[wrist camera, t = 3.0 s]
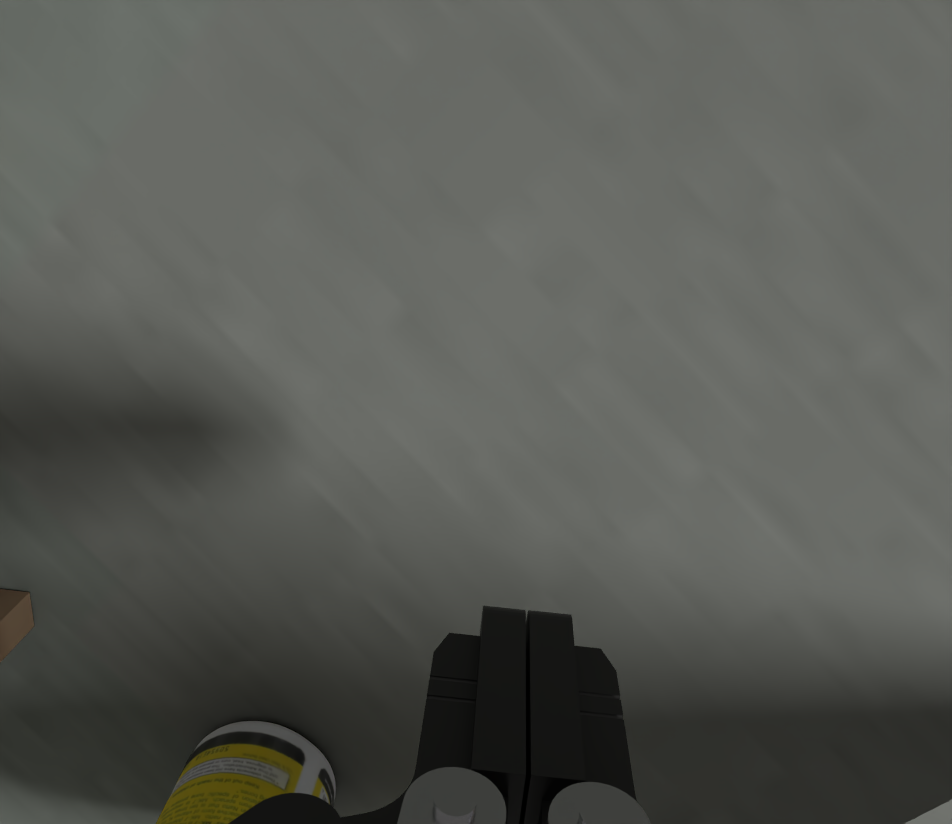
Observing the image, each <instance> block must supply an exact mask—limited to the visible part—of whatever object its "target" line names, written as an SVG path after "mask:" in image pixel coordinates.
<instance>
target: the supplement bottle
mask: <svg viewBox="0 0 952 824" xmlns="http://www.w3.org/2000/svg"><path fill="white" fill-rule="evenodd" d="M285 793H304V794H310V795H313V796H316V797H319V798H321V799H322V800H324V801H326V802H327V803H329V804H330V805H331V806H332V807H333V805H334V801H335V794H336V783H335V777H334V774H333V771H332V768H331V766H330V764H329V762H328V761H327V759H326V758H325V756H324V755H323V754H322V753H321V752H320V750H319V749H318V748H317V747H315V746H314V745H313V744H312V743H311V742H309V741H308V740H307V739H305V738H304V737H302V736H301V735H299V734H298V733H296V732H294V731H292V730H290V729H288V728H286V727H283V726H281V725H277V724H274V723H269V722H262V721H242V722H236V723H232V724H228V725H225V726H223V727H220V728H218V729H217V730H215V731H213V732H212V733H210V734H209V735H207V736H206V737H205V738H204V739H203V740H202V741H201V742H200V743H199V744H198V745H197V747H196V748H195V750H194V751H193V753H192V754H191V755H190V757H189V759H188V761H187V763H186V765H185V767H184V769H183V771H182V773H181V775H180V777H179V779H178V781H177V783H176V785H175V787H174V789H173V791H172V793H171V795H170V797H169V799H168V801H167V803H166V805H165V807H164V809H163V810H162V812H161V814H160V816H159V818H158V820H157V822H156V824H228V823H230V822H231V821H233V820H234V819H236V818H237V817H239V816H240V815H241V814H243V813H244V812H246V811H247V810H249V809H250V808H252V807H253V806H255V805H256V804H258V803H260V802H261V801H263V800H265V799H268V798H270V797H272V796H276V795H280V794H285Z"/></svg>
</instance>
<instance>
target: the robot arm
mask: <svg viewBox="0 0 952 824" xmlns="http://www.w3.org/2000/svg"><path fill="white" fill-rule="evenodd" d="M228 824H651V823H650V820H649V818H648V816H647V814H646V812H645V811H644V809H643V808H642V807H641V806H640V804H639V803H638V802H637V800H636V796H635V791H634V785H633V778H632V771H631V765H630V758H629V752H628V745H627V739H626V732H625V726H624V720H623V712H622V706H621V700H620V693H619V686H618V680H617V673H616V670H615V669H614V667H613V666H612V664H611V663H610V662H609V660H608V659H607V657H606V656H605V654H604V653H603V652H602V650H601V649H599V648H589V647H580V646H574V636H573V624H572V616H571V615H568V614H559V613H549V612H539V611H530V610H529V611H528V614H527V620H526V613H525V610H519V609H509V608H500V607H490V606H483V612H482V621H481V630H480V636H473V635H464V634H454V633H449V634H448V635H447V637H446V638H445V639H444V640H443V641H442V643H441V644H440V645H439V646H438V648H437V649H436V650H435V651H434V654H433V661H432V667H431V674H430V680H429V687H428V693H427V699H426V706H425V712H424V719H423V725H422V732H421V738H420V745H419V751H418V758H417V764H416V770H415V774H414V777H413V780H412V782H411V784H410V785H409V787H408V788H407V790H406V791H405V792H404V793H403V794H402V795H401V796H400V797H399V798H398V799H396V800H395V801H394V802H392V803H391V804H389V805H387V806H385V807H383V808H381V809H378V810H376V811H372V812H368V813H364V814H359V815H353V816H348V817H342V818H340V816H339V815H338V813H337V811H336V810H335V809H334V808H333V807H332V806H331V805H330V804H329V803H327V802H326V801H324V800H322V799H321V798H319V797H316V796H313V795H310V794H304V793H285V794H280V795H276V796H272V797H270V798H268V799H265V800H263V801H261V802H260V803H258V804H256V805H255V806H253V807H252V808H250V809H249V810H247V811H246V812H244V813H243V814H241V815H240V816H239V817H237V818H236V819H234V820H233V821H231V822H230V823H228Z"/></svg>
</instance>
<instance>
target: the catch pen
mask: <svg viewBox="0 0 952 824" xmlns="http://www.w3.org/2000/svg"><path fill="white" fill-rule="evenodd" d="M33 627H34V620H33V613H32V606H31V599H30V592H22V591H13V590H5V589H0V662H1V661H2V660H3V659H4V658H5V657H6V656H7V655H8V654H9V653H10V652H11V650H12V649H13V648H14V647H15V646H16V645H17V644H18V643H19V642H20V641H21V640H22V639H23V638H24V636H25V635H26V634H27V633H28V632H29V631H30V630H31V629H32V628H33Z"/></svg>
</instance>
